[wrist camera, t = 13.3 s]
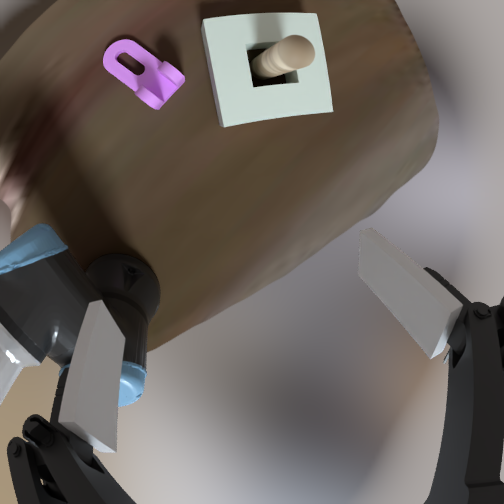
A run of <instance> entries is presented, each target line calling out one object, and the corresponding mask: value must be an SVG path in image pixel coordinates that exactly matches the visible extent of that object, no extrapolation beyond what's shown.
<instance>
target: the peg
mask: <svg viewBox="0 0 504 504" xmlns="http://www.w3.org/2000/svg"><path fill="white" fill-rule="evenodd" d="M314 58H315V49H314V46H313V45H312V43H311V42H310V41H309V40H308V39H307V38H305V37H303V36H300V35H290V36H287V37H286V38H284V39H282V40H281V41H279V42H278V43H276V44H275V45H273V46H272V47H270V48H269V49H267V50H266V51H264V52H263V53H261V54H260V55H258V56H257V57H255V58H254V59H253V60H252V61H251V63H250V66H249V67H250V72H251V74H252V75H253V76H254V77H255V78H257V79H260V80H266V79H269V78H272V77H275V76H278V75H281V74H284V73H287V72H291V71H294V70H297V69H301V68H304V67H307V66H309V65H310V64H311V63H312V62H313V61H314Z"/></svg>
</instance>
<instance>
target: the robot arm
mask: <svg viewBox="0 0 504 504" xmlns="http://www.w3.org/2000/svg"><path fill="white" fill-rule="evenodd" d="M358 275H359V277H360V278H361V279H362V280H363V281H364V282H365V283H366V284H367V286H368V287H369V288H370V289H371V290H372V291H373V292H374V293H375V294H376V296H377V297H378V298H379V299H380V300H381V301H382V302H383V303H384V305H385V306H386V307H387V308H388V309H389V310H390V311H391V313H392V314H393V315H394V316H395V317H396V318H397V320H398V321H399V322H400V323H401V324H402V325H403V327H404V328H405V329H406V330H407V331H408V333H409V334H410V335H411V336H412V337H413V339H414V340H415V341H416V342H417V343H418V345H419V346H420V347H421V348H422V350H423V351H424V352H425V353H426V355H427V356H428V357H429V358H430V359H432V358H433V357H435V356H436V355H438V354H439V353H441V352H442V351H443V349H444V347H445V345H446V343H448V344H449V345H450V346H451V347H450V349H449V351H448V353H447V355H446V357H445V358H444V362H443V363H446V361H447V359H448V358H449V373H448V391H447V404H446V414H445V422H444V429H443V436H442V442H441V448H440V453H439V458H438V463H437V467H436V472H435V476H434V479H433V483H432V487H431V491H430V494H429V496H428V498H427V500H426V501H425V503H424V504H504V483H503V482H502V481H501V480H500V470H501V462H502V453H503V442H504V297H503V298H502V300H501V303H500V305H497V306H493V307H489V306H488V305H486V304H484V303H481V302H474V303H471V302H470V301H469V300H468V299H467V298H466V297H464V296H463V295H462V294H461V293H460V292H459V291H458V290H457V289H456V288H455V287H453V286H452V285H450V284H449V282H448V281H447V280H444V278H443V277H442V276H441V275H440V274H439V273H437V272H436V271H434V270H432V269H430V268H428V267H426V268H422V267H420V266H419V265H418V264H417V263H416V262H415V261H413V260H412V259H411V258H409V256H407V255H406V254H405V253H404V252H402V251H401V250H400V249H399V248H397V247H396V246H395V245H394V244H392V243H391V242H390V241H388V240H387V239H386V238H385V237H383V236H382V235H381V234H380V233H378V232H377V231H376V230H374V229H373V228H369V229H365V230H362V231H360V245H359V263H358ZM159 303H160V285H159V282H158V279H157V277H156V276H155V274H154V273H153V271H152V270H151V269H150V268H149V267H148V266H147V265H146V264H144V263H143V262H142V261H140V260H138V259H136V258H134V257H131V256H128V255H124V254H108V255H104V256H102V257H99V258H98V259H96V260H95V261H93V262H92V263H91V264H90V266H89V267H88V269H87V270H86V272H84V271H83V269H82V268H81V267H80V265H79V264H78V262H77V261H76V260H75V258H74V257H73V255H72V254H71V253H70V251H69V250H68V246H67V245H65V244H64V243H63V242H62V240H61V239H60V238H59V237H58V235H57V234H56V233H55V231H54V230H53V228H52V227H51V226H49V225H47V224H44V223H41V224H37V225H35V226H34V227H32V228H31V229H29V230H28V231H27V232H25V233H24V234H22V235H21V236H20V237H18V238H17V239H16V240H14V241H13V242H12V243H10V244H9V245H8V246H7V247H5V248H4V249H3V250H1V251H0V405H1V403H2V401H3V400H4V398H5V396H6V395H7V393H8V391H9V389H10V388H11V386H12V384H13V383H14V381H15V379H16V378H17V376H18V375H19V373H20V372H21V370H22V368H24V367H26V366H39V365H40V364H41V363H42V361H43V360H44V358H45V357H46V356H47V355H48V356H49V357H50V358H51V359H53V360H54V361H55V362H56V363H57V364H58V365H59V366H60V367H61V370H60V371H59V381H58V385H57V388H58V389H56V394H55V395H56V397H55V398H54V403H53V408H52V413H51V418H50V423H49V422H48V421H47V420H45V419H44V418H43V417H41V416H40V415H38V414H34V415H31V416H30V417H28V418H27V420H26V421H25V423H24V425H23V430H22V433H23V437H24V438H25V439H26V440H28V441H29V442H26V441H24V440H23V439H21V438H19V437H14V438H13V439H12V440H10V442H9V444H8V447H7V456H8V462H9V467H10V472H11V477H12V481H13V485H14V490H15V493H16V497H17V501H18V504H136V503H135V502H134V501H133V500H132V499H131V497H130V496H129V495H128V494H127V493H126V492H125V491H124V490H123V489H122V487H121V486H120V485H119V484H118V483H117V482H116V480H115V479H114V478H113V477H112V476H111V475H110V473H109V472H108V471H107V469H106V468H105V467H104V465H103V464H102V463H101V462H100V460H99V459H98V457H97V456H96V455H94V454H93V447H94V448H95V449H97V450H98V451H100V452H116V450H117V449H116V448H117V446H116V445H117V417H118V407H121V406H126V405H129V404H131V403H133V402H135V401H137V400H138V399H139V398H140V397H141V395H142V393H143V390H144V383H145V377H146V376H147V372H146V353H147V332H148V325H149V323H150V321H151V319H152V318H153V316H154V315H155V313H156V312H157V310H158V307H159ZM40 479H42V480H43V485H42V483H41V480H40Z"/></svg>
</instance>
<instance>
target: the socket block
mask: <svg viewBox="0 0 504 504" xmlns="http://www.w3.org/2000/svg"><path fill="white" fill-rule="evenodd" d="M201 32H202V38H203V43H204V48H205V53H206V58H207V64H208V69H209V74H210V79H211V84H212V89H213V94H214V99H215V104H216V110H217V115H218V120H219V125H220V126H222V127H228V126H232V125H238V124H243V123H248V122H254V121H260V120H266V119H273V118H280V117H287V116H295V115H304V114H314V113H325V112H333V107H332V99H331V92H330V84H329V78H328V71H327V65H326V59H325V53H324V48H323V43H322V37H321V32H320V28H319V23H318V18H317V14H313V13H256V14H242V15H232V16H223V17H215V18H209V19H203V22H202V27H201ZM290 35H300V36H303V37H305V38H307V39H308V40H309V41H310V42H311V43H312V45H313V46H314V49H315V58H314V61H313V62H312V63H311V64H310V65H309V66H307V67H304V68H301V69H297V70H294V71H291V72H287V73H285V79H286V84H278V85H269V86H261V87H253V84H252V78H251V73H250V67H249V62H248V57H247V52H246V50H254V49H265V48H270V47H272V46H273V45H275V44H276V43H278V42H279V41H281V40H282V39H284V38H286V37H287V36H290Z"/></svg>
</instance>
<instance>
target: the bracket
mask: <svg viewBox="0 0 504 504" xmlns="http://www.w3.org/2000/svg"><path fill="white" fill-rule="evenodd" d="M123 52H126V53H128V54H129V55H130V56H132V57H133V58H135V59H136V60H137V61H139V62H140V63H141V64H143V65H144V66H145V71H144V73H143V74H141V75H135V74H133V73H132V72H131V71H129V70H128V69H127V68H125V67H124V66H123V65H121V64H120V63H119V62H118V61H117V57H118V55H119V54H120V53H123ZM103 64H104V67H105V68H106V70H107V71H109V72H110V73H111V74H113V75H114V76H115V77H117V78H118V79H119V80H121V81H122V82H123V83H125V84H126V85H127V86H128V87H130V88H131V89H132V90H134V91H135V95H137V96H138V97H139V98H140V99H141V100H143V101H144V102H145V103H147V104H148V105H149V106H151V107H152V108H154V109H157V110H159V109H160V108H161V107H162V105H163V104H164V103H165V102H166V101H167V100H168V99H169V98H170V97H171V96H172V95H173V94H174V92H175V91H176V90H177V89H178V88H179V87H180V86H181V85H182V84H183V83H184V82H185V77H184V76H183V75H182V74H181V73H180V72H179V71H178V70H177V69H176V68H175V67H173V66H172V65H171V64H169V63H168V62H166V61H164V62H163V63H162V62H161V61H159V60H158V59H157V58H156V57H154V56H153V55H152V54H150V53H149V52H148V51H146V50H145V49H143V48H142V47H141V46H139V45H138V44H137V43H135V42H134V41H132V40H127V39H124V40H119V41H117V42H115V43H113V44H112V45H111V46H109V48H108V49H107V50H106V52H105V54H104V57H103Z"/></svg>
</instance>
